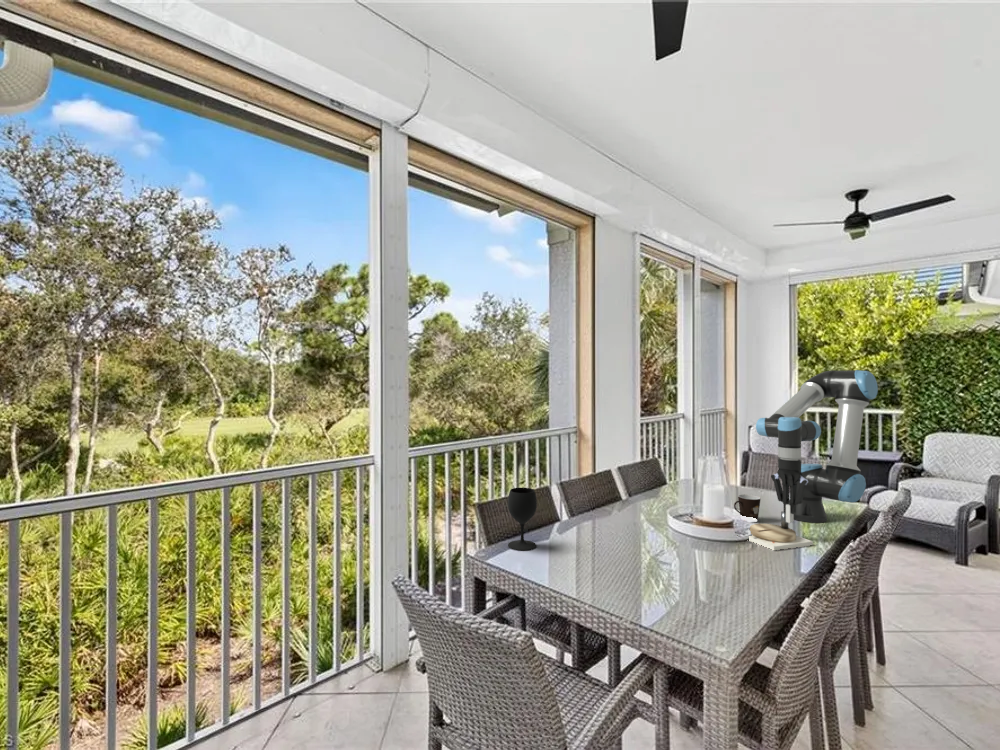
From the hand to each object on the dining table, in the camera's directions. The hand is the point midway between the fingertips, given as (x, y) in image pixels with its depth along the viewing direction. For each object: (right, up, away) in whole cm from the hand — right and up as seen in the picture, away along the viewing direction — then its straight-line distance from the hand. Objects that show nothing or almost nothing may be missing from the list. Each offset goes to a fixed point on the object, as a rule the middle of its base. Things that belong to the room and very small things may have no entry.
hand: (789, 521), depth 186 cm
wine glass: (-100, -7, -7) cm, 101 cm away
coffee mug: (-4, -7, +25) cm, 26 cm away
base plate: (-7, -7, 0) cm, 9 cm away
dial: (-7, -5, 0) cm, 8 cm away
